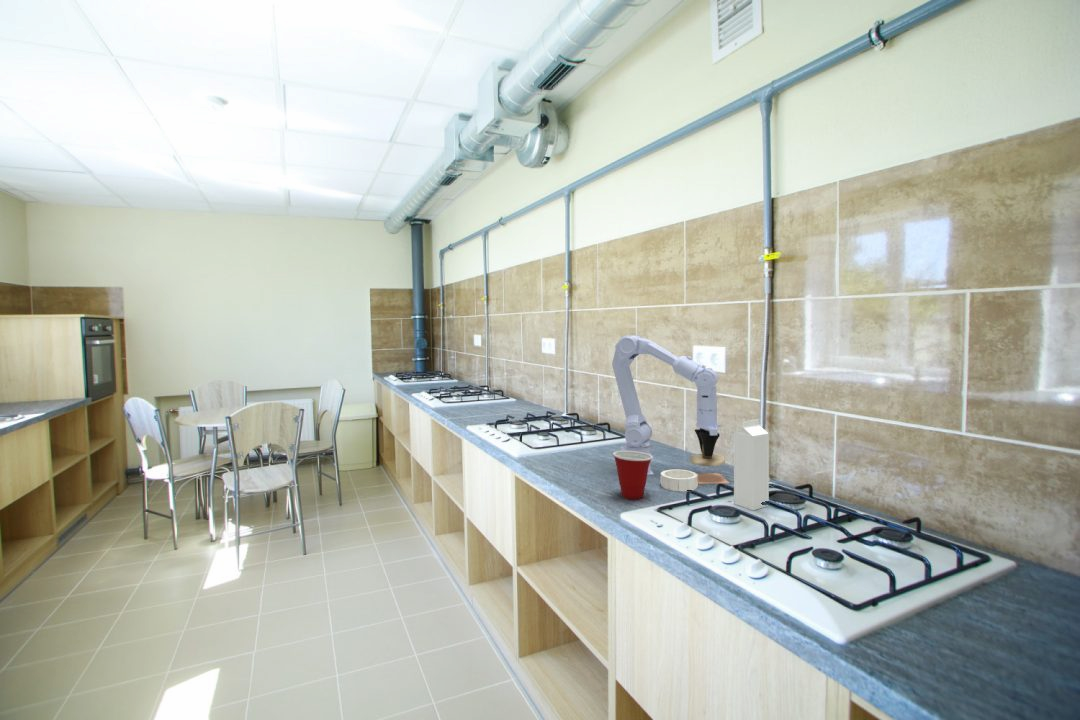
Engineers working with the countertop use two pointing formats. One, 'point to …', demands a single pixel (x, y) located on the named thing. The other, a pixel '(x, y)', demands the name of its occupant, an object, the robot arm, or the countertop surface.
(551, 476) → the countertop surface
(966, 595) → the countertop surface
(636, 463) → the plastic cup
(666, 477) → the bowl
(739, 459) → the milk
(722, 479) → the mat
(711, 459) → the lid
